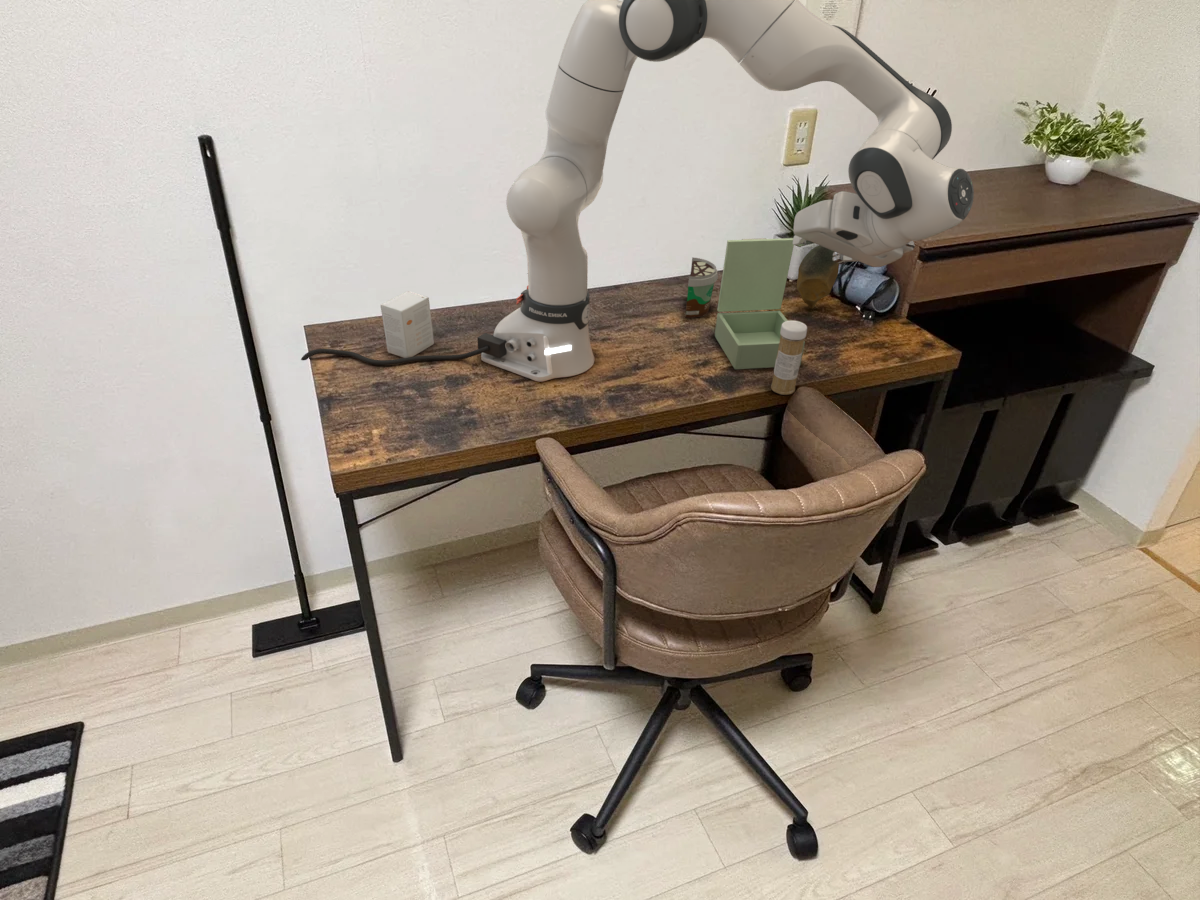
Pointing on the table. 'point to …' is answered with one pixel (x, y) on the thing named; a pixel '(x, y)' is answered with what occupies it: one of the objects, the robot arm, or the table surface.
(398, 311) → the small box
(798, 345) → the sprinkles bottle
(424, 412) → the table surface
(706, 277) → the food container
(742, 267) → the lid
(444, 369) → the table surface
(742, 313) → the chest
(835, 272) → the decorative stone
